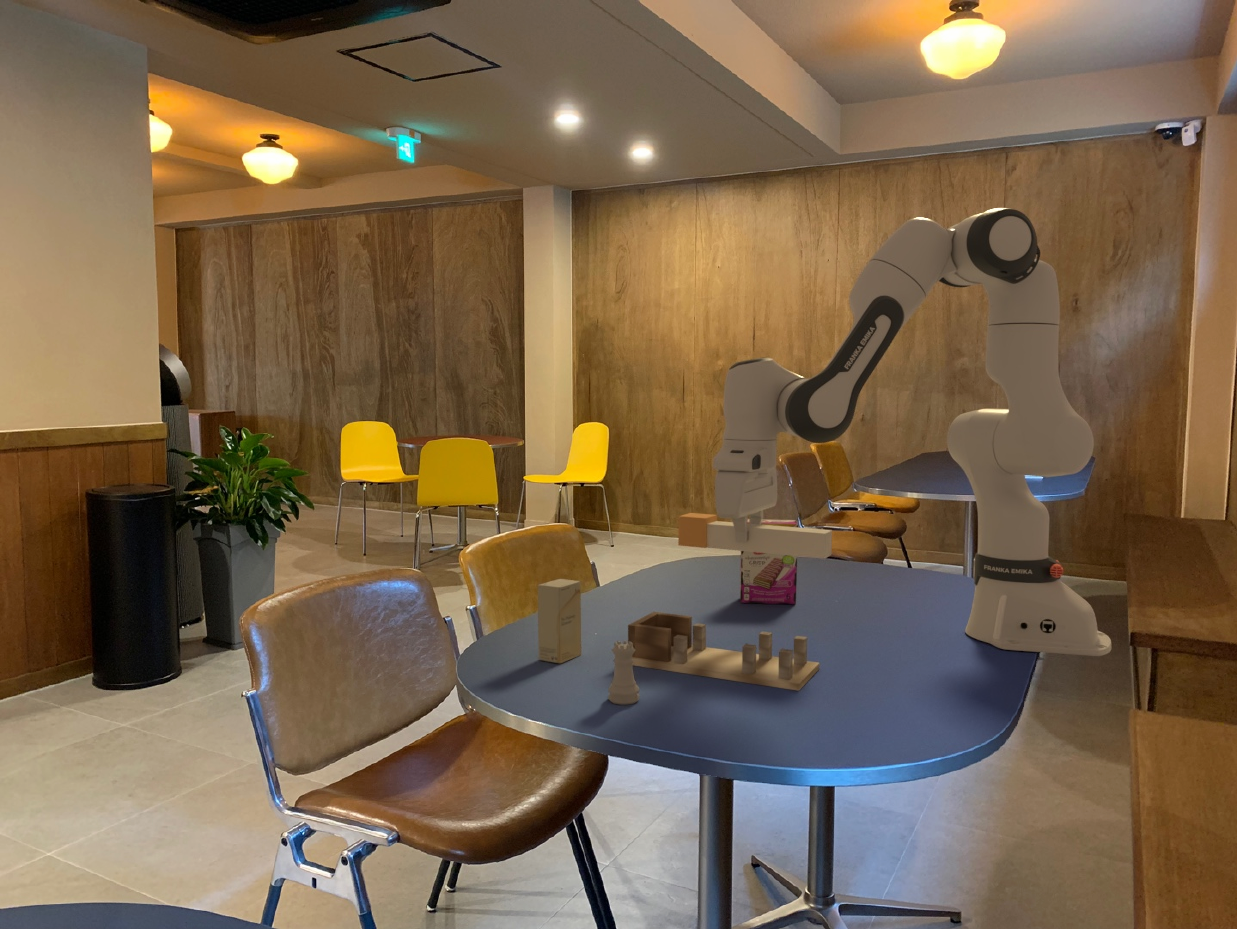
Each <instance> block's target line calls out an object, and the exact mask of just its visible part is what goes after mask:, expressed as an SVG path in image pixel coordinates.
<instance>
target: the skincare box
mask: <svg viewBox="0 0 1237 929" xmlns="http://www.w3.org/2000/svg"><path fill="white" fill-rule="evenodd" d="M581 589H582V587H581V581H580V580H576V579H575V580H572V579H566V578H558V579H553V580H550V581H547V582H544V583H540V584H537V615H538V616H537V618H538V619H537V626H538V628H537V629H538V630H537V631H538V632H537V633H538V638H537V639H538V660H539V661H543V662H547V663H555V664H562V663H565V662H567V661H569V660H573V659H575V658H577V657H579V656H582V613H581V612H582V611H581V610H582V607H581V606H582V602H581V601H582V600H581V598H582V597H581V596H582V592H581Z"/></svg>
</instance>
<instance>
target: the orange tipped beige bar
mask: <svg viewBox="0 0 1237 929" xmlns="http://www.w3.org/2000/svg"><path fill="white" fill-rule="evenodd" d="M747 531H749V540H748V541H747V542H745V543H740V542H736V531H735V528H734V525H733V521H730V522H729V521H721V520H720V521H719V520H718V514H712V513H711V514H710V513H709V514H708V513H698V512H688V513H685V514H682V515H678V538H677V539H678V543H677V544H678V546H680V547H692V548H702V549H706V548H707V549H719V550H726V551H727V550H728V551H730V550H731V551H738V552H739V551H740V552H741V551H748V552H759V553H769V554H780V555H790V556H797V557H801V558H815V559H822V560H823V559H827V558H828V557H830V556H832V547H833V546H832V545H833V542H832V541H833V530H832V529H822V528H811V527H809V528H808V527H799V526H798V527H785V526H773V525H760V524H747Z"/></svg>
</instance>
